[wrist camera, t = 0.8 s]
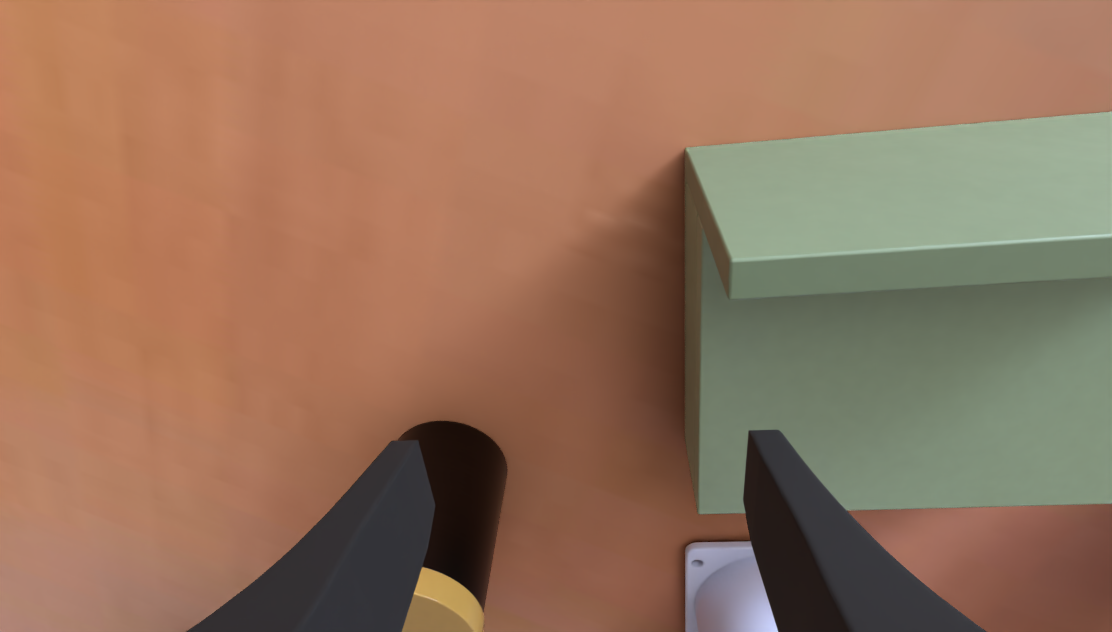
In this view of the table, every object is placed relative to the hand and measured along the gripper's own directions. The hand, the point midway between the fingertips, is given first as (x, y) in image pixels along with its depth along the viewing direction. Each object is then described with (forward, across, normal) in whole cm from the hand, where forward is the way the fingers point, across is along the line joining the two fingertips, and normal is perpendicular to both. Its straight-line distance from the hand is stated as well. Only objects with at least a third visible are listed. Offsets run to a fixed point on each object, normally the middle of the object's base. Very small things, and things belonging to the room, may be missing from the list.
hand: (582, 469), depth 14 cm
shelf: (+10, -10, +2) cm, 14 cm away
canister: (+10, +7, +9) cm, 15 cm away
